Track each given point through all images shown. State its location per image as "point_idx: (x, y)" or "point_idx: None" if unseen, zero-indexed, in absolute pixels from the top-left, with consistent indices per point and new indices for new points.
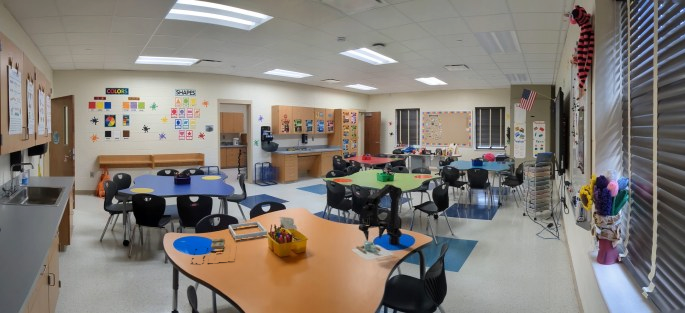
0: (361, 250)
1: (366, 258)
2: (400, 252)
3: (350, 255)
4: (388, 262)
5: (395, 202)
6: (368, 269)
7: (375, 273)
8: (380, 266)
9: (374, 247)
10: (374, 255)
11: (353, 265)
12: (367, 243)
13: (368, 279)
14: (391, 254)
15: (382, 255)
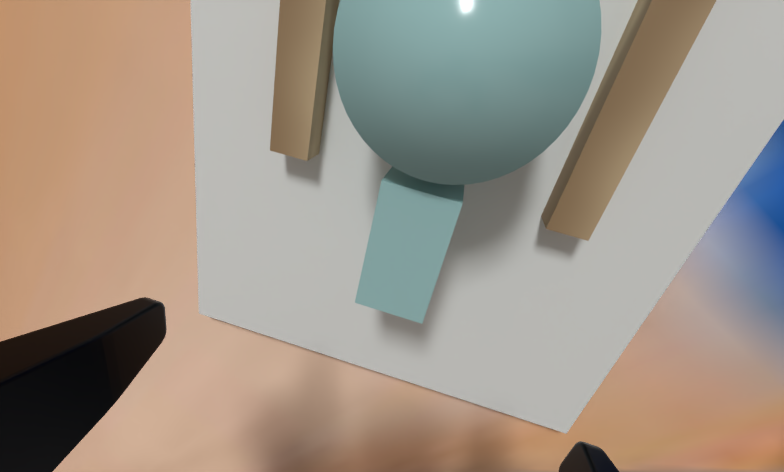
0: (282, 47)
1: (216, 285)
2: (733, 421)
3: (109, 16)
4: (362, 447)
5: None
6: (141, 404)
7: (156, 462)
8: (251, 438)
9: (378, 306)
10: (351, 292)
11: (55, 279)
12: (402, 66)
13: (84, 468)
14: (538, 410)
15: (429, 356)
